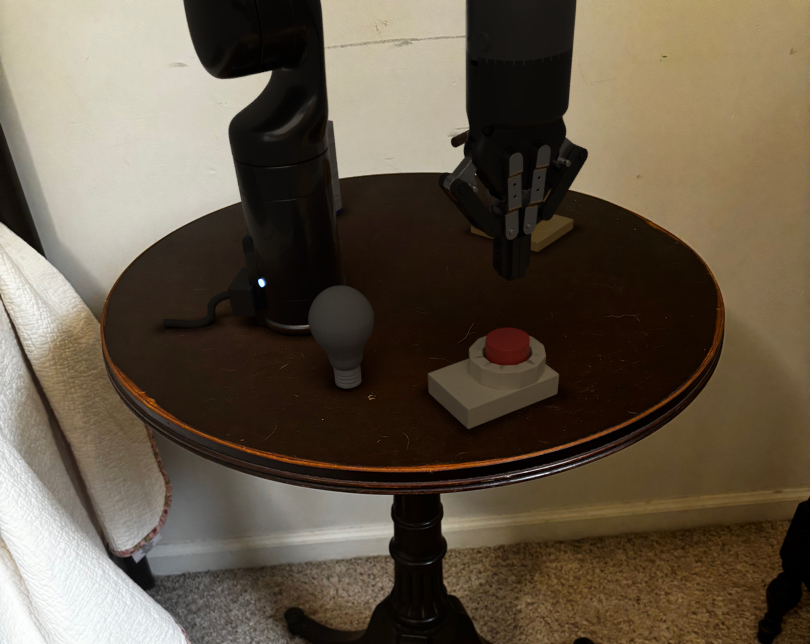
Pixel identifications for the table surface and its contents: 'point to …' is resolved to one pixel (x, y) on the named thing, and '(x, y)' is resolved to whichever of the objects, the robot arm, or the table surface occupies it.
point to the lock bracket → (544, 231)
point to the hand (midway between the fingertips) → (510, 275)
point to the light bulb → (342, 330)
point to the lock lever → (459, 139)
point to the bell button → (507, 346)
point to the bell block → (492, 385)
